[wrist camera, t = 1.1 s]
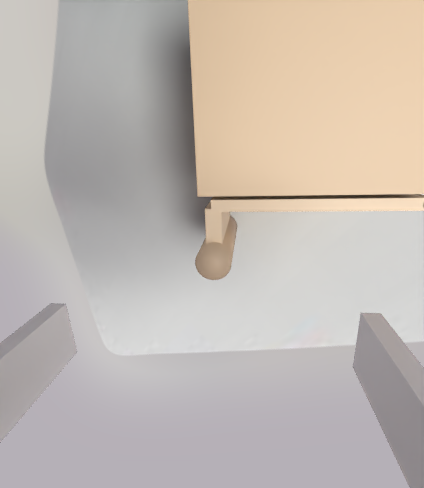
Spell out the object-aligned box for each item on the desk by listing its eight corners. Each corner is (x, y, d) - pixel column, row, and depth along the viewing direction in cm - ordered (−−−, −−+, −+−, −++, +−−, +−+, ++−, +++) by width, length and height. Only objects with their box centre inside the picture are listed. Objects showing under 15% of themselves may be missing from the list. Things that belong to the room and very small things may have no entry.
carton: (214, 40, 25) (185, -46, 14) (381, 26, 23) (504, -87, 12) (217, 177, 29) (197, 196, 18) (361, 174, 27) (440, 193, 16)
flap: (211, 182, 28) (191, 200, 19) (371, 179, 26) (439, 197, 17) (213, 238, 30) (196, 279, 21) (362, 239, 28) (418, 285, 19)
